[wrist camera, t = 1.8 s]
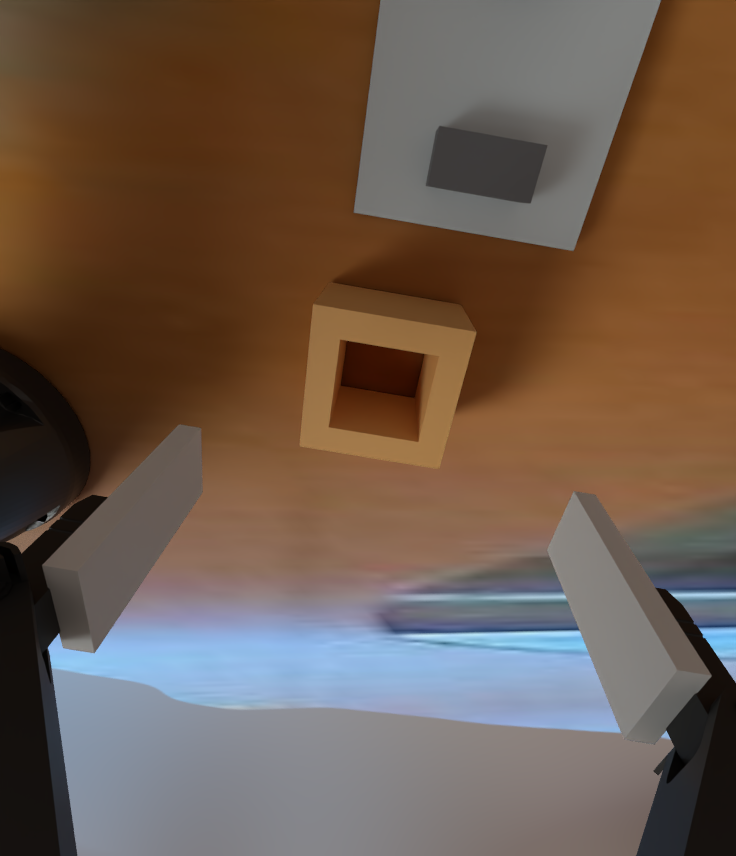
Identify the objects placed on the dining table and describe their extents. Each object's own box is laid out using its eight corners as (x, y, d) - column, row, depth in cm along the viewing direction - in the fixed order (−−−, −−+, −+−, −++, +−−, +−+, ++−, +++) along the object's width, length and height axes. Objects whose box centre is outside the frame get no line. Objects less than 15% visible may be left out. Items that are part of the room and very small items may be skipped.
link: (316, 402, 31) (299, 446, 25) (329, 282, 27) (312, 304, 21) (431, 421, 31) (439, 469, 25) (461, 304, 27) (476, 332, 22)
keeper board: (355, 211, 25) (338, 219, 18) (413, -239, 17) (424, -546, 10) (566, 248, 25) (634, 271, 18) (711, -180, 18) (929, -438, 10)
